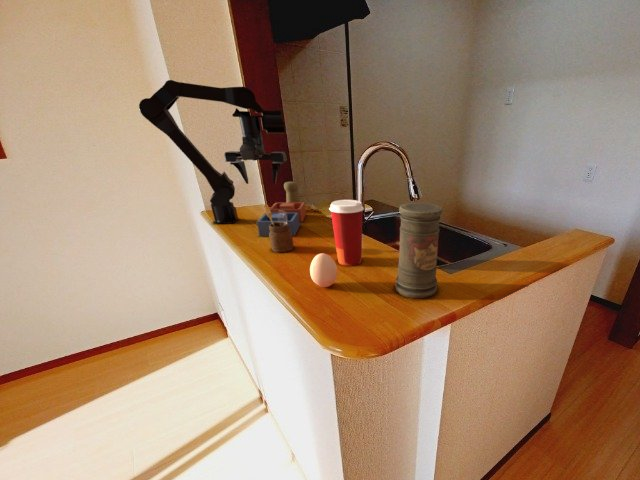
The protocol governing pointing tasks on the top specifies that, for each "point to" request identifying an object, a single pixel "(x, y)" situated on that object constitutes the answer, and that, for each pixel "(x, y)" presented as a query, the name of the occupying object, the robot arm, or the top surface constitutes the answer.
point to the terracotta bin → (298, 209)
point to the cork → (291, 192)
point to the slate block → (279, 217)
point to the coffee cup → (347, 230)
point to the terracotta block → (287, 206)
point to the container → (418, 249)
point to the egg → (323, 270)
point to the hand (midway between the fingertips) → (261, 183)
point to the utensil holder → (279, 234)
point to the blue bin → (265, 222)
